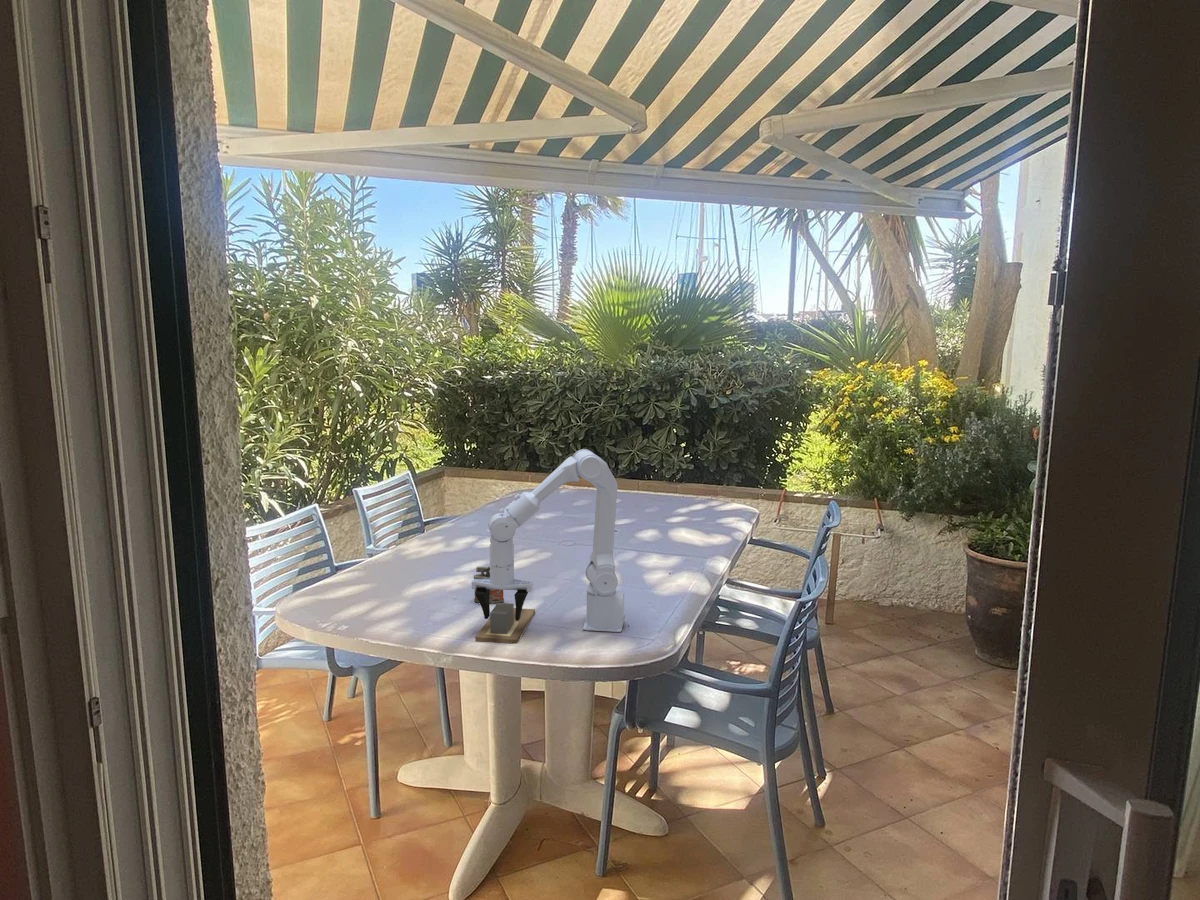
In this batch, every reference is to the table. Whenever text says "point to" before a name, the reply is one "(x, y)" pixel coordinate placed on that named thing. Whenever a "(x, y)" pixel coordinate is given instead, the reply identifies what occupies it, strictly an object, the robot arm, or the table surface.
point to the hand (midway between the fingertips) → (502, 618)
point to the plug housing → (502, 618)
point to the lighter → (495, 594)
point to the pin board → (513, 633)
